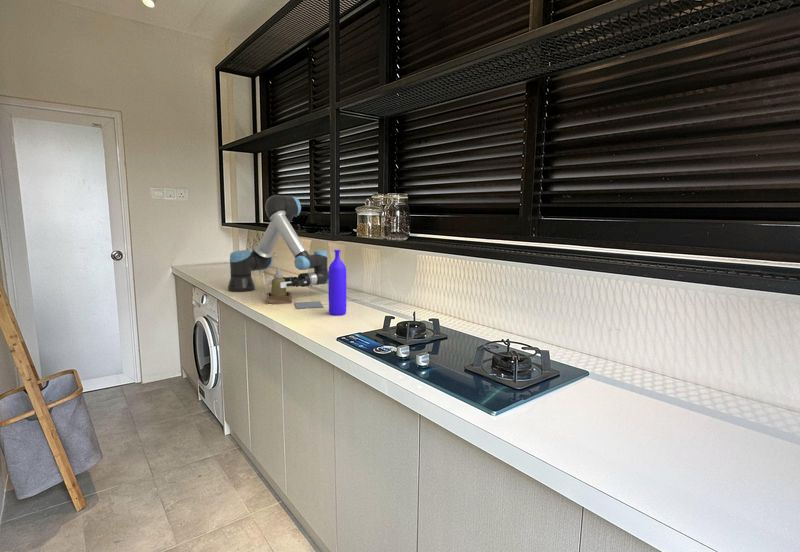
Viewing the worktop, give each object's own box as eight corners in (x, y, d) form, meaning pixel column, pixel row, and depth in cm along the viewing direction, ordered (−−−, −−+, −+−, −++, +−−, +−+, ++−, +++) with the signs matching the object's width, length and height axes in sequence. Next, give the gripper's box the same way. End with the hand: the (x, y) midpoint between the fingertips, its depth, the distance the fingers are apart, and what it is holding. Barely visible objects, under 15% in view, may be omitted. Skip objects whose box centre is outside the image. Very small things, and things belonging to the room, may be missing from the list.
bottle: (334, 316, 188) (334, 251, 184) (325, 313, 194) (324, 249, 190) (350, 314, 194) (350, 250, 189) (340, 310, 200) (340, 249, 195)
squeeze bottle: (268, 301, 218) (267, 267, 215) (281, 299, 224) (280, 266, 221) (276, 304, 212) (275, 269, 210) (289, 301, 218) (289, 268, 216)
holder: (266, 300, 222) (266, 292, 221) (289, 298, 226) (289, 291, 225) (267, 304, 210) (267, 297, 210) (291, 303, 214) (291, 295, 214)
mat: (294, 303, 214) (294, 302, 214) (319, 302, 218) (319, 301, 218) (296, 309, 202) (296, 307, 202) (323, 307, 206) (323, 306, 206)
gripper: (321, 289, 222) (286, 294, 207) (294, 283, 239) (260, 287, 223) (320, 275, 221) (286, 279, 205) (293, 270, 237) (260, 274, 222)
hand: (272, 283), depth 214 cm, fingers open, 13 cm apart
